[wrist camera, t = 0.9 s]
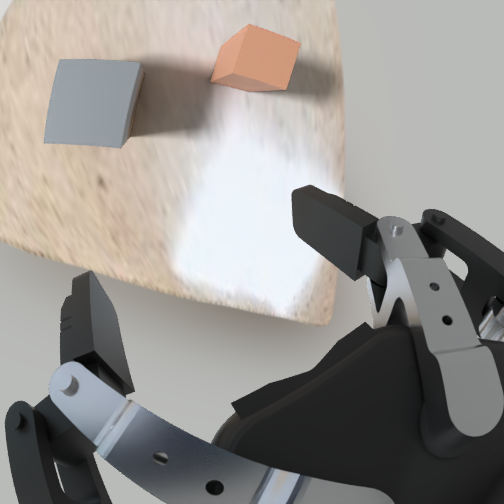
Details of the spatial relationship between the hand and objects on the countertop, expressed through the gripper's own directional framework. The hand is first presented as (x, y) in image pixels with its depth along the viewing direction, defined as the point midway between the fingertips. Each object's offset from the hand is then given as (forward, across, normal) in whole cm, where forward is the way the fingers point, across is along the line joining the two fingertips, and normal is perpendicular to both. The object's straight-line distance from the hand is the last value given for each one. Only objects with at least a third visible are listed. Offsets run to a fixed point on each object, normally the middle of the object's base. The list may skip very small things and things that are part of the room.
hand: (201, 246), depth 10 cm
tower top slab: (+22, +3, -6) cm, 23 cm away
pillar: (+24, -14, -6) cm, 28 cm away
